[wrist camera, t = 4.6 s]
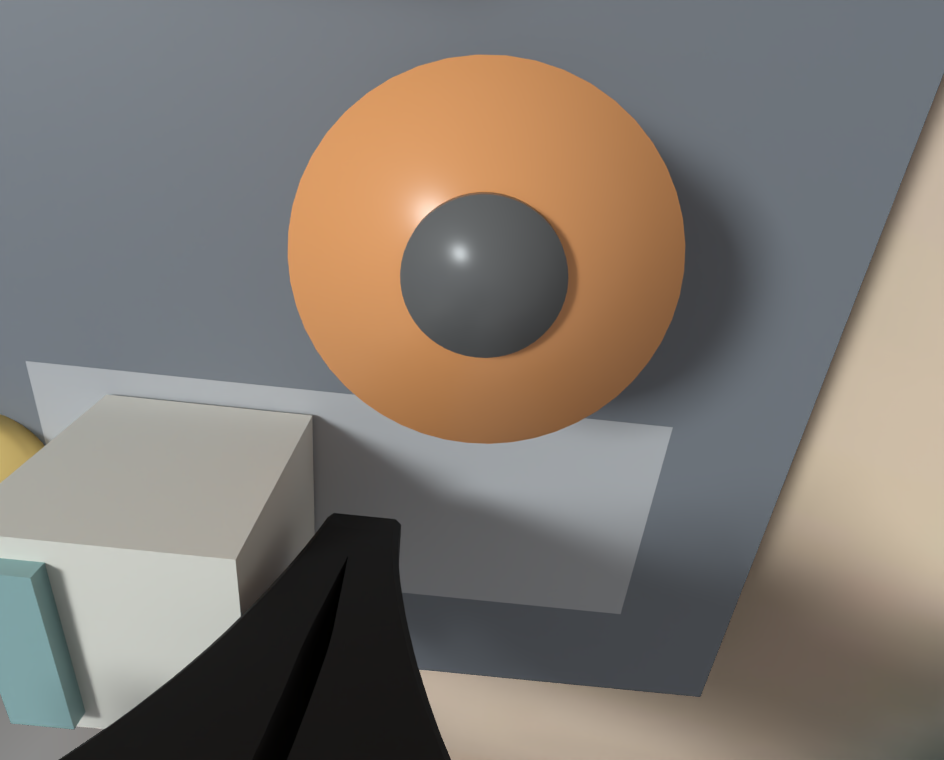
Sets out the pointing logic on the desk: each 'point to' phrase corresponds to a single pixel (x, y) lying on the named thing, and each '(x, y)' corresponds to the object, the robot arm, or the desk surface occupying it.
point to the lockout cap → (486, 249)
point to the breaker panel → (385, 441)
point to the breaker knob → (141, 549)
